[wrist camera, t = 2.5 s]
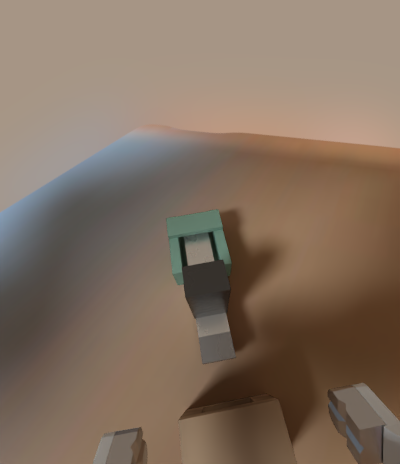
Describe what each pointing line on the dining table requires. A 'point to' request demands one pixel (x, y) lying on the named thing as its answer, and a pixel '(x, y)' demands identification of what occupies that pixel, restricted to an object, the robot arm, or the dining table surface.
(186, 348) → the dining table surface
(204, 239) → the two-tone rectangular rod
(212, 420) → the socket block
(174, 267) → the green slotted block
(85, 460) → the dining table surface
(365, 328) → the dining table surface
